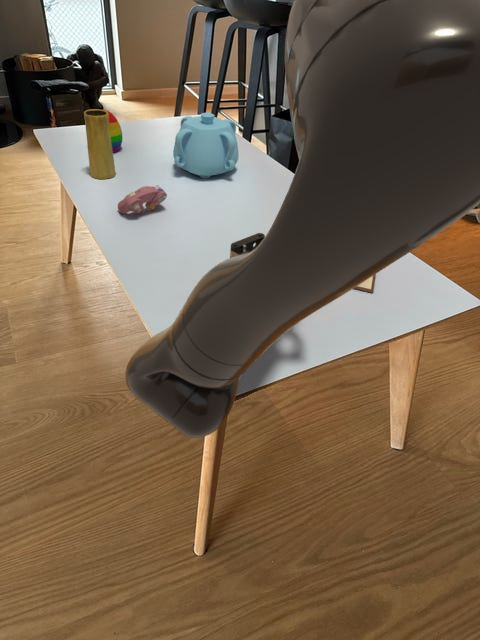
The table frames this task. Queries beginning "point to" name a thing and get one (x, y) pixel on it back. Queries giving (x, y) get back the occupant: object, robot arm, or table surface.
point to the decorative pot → (206, 145)
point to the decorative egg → (115, 132)
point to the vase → (99, 144)
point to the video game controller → (142, 199)
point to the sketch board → (367, 285)
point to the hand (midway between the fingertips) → (298, 236)
